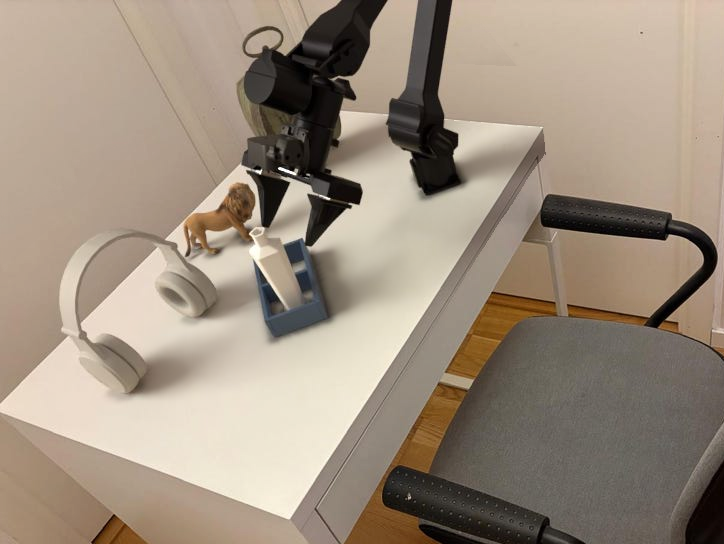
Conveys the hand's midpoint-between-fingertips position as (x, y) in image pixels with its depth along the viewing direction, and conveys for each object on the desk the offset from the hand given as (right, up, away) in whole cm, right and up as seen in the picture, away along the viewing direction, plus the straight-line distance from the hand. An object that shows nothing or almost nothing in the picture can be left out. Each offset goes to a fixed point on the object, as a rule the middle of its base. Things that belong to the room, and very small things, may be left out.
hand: (286, 236), depth 103 cm
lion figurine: (-15, +3, +22) cm, 26 cm away
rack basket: (-1, -7, +9) cm, 12 cm away
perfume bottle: (0, -10, +7) cm, 12 cm away
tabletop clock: (-3, +18, +32) cm, 37 cm away
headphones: (-20, -15, +7) cm, 26 cm away
